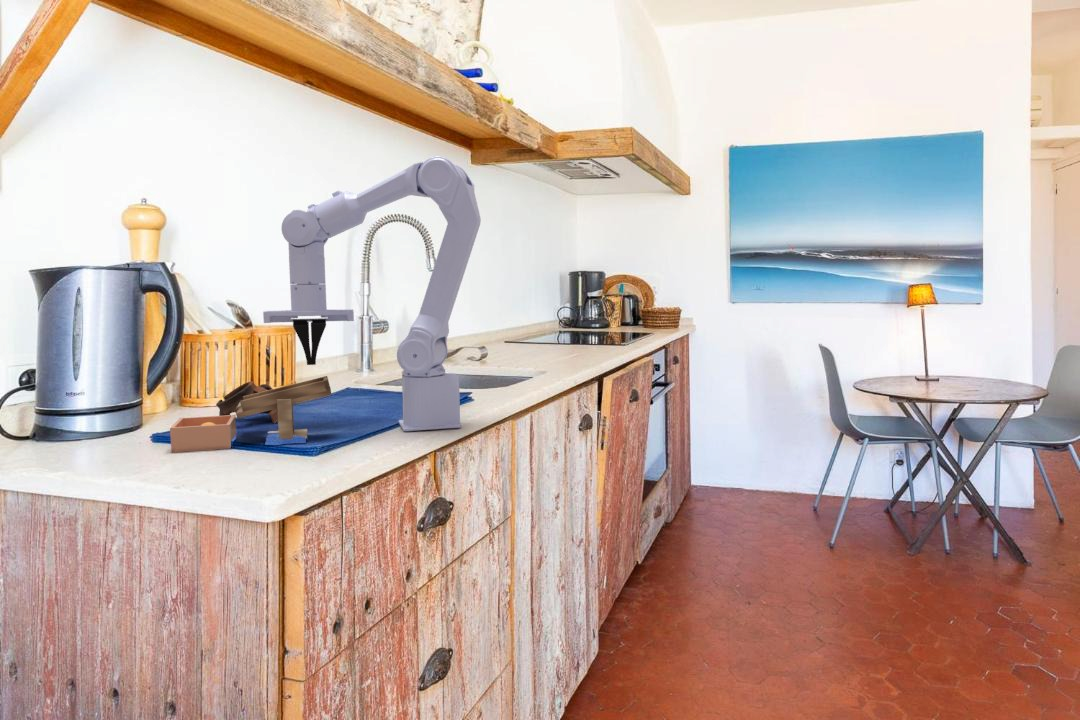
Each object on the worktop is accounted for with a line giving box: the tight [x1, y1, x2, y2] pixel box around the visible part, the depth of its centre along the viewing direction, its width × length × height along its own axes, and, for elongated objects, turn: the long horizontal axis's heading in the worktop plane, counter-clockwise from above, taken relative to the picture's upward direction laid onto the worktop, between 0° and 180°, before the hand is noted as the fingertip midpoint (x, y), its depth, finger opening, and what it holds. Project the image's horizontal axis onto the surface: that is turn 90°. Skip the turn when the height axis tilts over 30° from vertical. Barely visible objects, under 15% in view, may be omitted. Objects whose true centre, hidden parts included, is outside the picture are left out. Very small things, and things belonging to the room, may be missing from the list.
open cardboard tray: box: [169, 414, 237, 454], centre depth 110 cm, size 8×8×4 cm
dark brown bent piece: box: [216, 380, 278, 424], centre depth 128 cm, size 12×10×8 cm
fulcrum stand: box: [267, 399, 308, 439], centre depth 113 cm, size 6×8×7 cm
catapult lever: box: [235, 375, 332, 419], centre depth 115 cm, size 14×11×2 cm
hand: (311, 364), depth 124 cm, fingers closed
